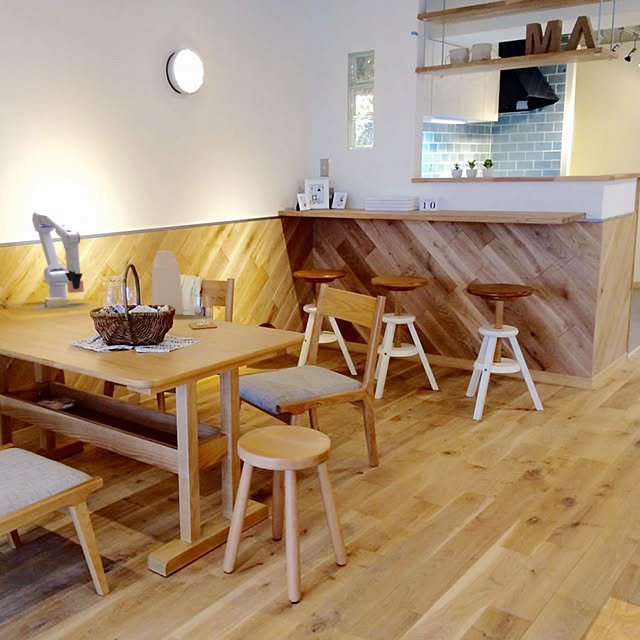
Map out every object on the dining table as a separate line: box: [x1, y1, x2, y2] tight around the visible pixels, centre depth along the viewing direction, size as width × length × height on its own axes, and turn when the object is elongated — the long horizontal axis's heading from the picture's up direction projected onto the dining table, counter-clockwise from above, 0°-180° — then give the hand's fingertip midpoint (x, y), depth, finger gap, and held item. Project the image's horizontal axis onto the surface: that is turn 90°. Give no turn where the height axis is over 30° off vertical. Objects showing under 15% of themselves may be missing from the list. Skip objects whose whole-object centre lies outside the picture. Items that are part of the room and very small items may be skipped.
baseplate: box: [31, 301, 82, 311], centre depth 330 cm, size 13×19×2 cm
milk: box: [151, 250, 185, 315], centre depth 307 cm, size 12×12×26 cm
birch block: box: [43, 297, 66, 309], centre depth 328 cm, size 7×7×4 cm
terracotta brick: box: [66, 279, 85, 294], centre depth 335 cm, size 4×6×5 cm
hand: (75, 288), depth 335 cm, fingers closed on terracotta brick, 4 cm apart
